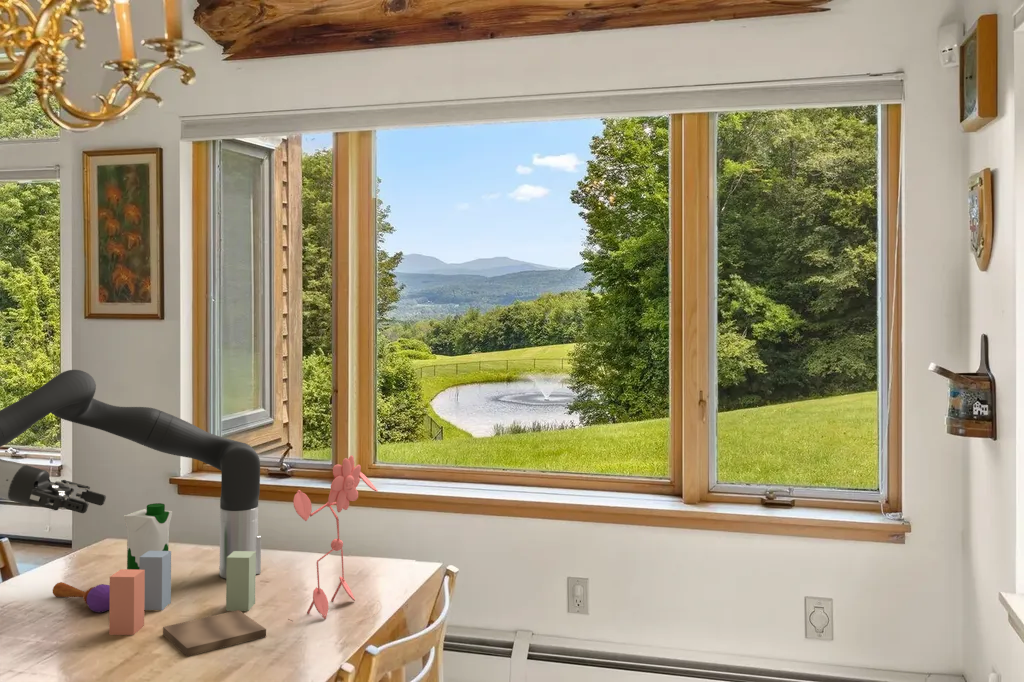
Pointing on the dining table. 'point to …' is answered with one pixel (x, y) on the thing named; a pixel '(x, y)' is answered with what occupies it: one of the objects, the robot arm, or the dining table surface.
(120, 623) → the red block
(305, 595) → the dining table surface
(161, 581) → the blue grey block
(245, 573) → the olive block
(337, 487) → the figurine
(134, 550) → the milk carton
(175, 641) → the walnut board
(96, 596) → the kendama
